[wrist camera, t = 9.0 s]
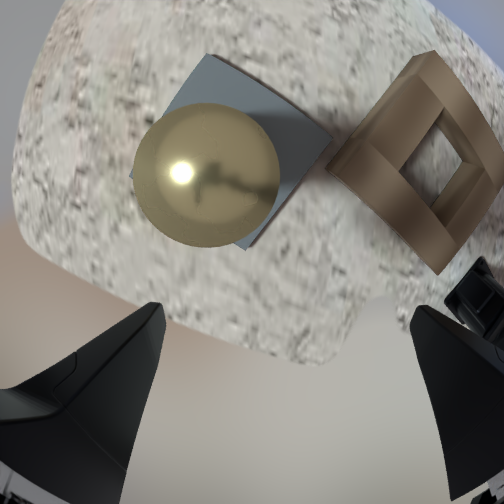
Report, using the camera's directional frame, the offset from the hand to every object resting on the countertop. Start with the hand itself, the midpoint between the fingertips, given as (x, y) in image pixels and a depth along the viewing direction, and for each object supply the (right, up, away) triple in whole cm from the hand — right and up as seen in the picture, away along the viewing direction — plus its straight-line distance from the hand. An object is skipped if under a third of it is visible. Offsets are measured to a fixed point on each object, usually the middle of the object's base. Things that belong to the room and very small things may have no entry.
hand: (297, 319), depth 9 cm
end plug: (-3, +9, +8) cm, 12 cm away
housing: (+12, +9, +8) cm, 17 cm away
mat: (-3, +9, +8) cm, 13 cm away
